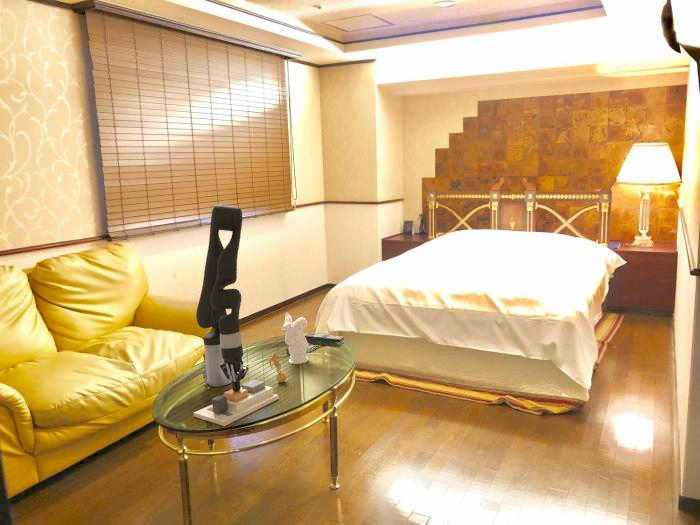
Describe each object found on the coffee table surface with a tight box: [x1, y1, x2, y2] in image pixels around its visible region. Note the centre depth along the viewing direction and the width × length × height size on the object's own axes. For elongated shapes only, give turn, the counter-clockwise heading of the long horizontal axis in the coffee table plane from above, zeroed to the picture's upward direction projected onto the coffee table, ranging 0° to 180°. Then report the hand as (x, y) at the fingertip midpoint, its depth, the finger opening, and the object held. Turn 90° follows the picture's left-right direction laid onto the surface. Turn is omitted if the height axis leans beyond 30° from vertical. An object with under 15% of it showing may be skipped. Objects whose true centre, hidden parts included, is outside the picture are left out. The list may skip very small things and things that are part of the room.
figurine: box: [268, 352, 287, 384], centre depth 229 cm, size 8×6×12 cm
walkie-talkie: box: [285, 342, 319, 356], centre depth 270 cm, size 9×4×20 cm
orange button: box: [223, 388, 248, 402], centre depth 206 cm, size 6×6×3 cm
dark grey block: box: [211, 394, 228, 414], centre depth 200 cm, size 3×4×5 cm
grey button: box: [241, 379, 266, 394], centre depth 213 cm, size 6×6×3 cm
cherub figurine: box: [280, 311, 309, 365], centre depth 251 cm, size 12×12×22 cm
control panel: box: [193, 385, 279, 427], centre depth 207 cm, size 16×26×4 cm, turn 143°
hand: (236, 390), depth 206 cm, fingers closed
